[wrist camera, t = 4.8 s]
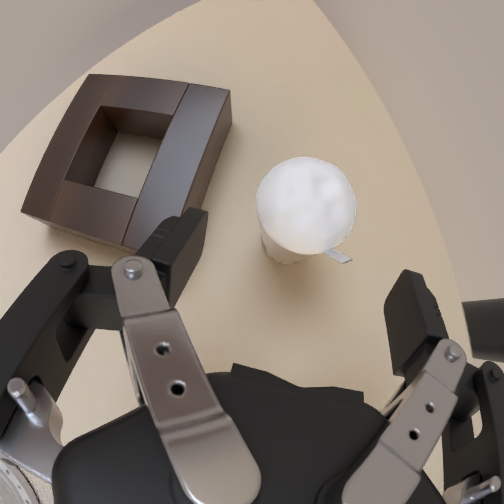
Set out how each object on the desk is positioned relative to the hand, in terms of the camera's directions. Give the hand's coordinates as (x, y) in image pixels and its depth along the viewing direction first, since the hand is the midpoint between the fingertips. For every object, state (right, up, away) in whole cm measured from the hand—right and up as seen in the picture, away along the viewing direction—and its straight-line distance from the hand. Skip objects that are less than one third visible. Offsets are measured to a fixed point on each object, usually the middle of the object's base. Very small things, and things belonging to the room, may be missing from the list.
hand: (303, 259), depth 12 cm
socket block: (-11, +6, +10) cm, 16 cm away
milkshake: (0, +1, +10) cm, 10 cm away
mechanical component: (-27, -23, +5) cm, 36 cm away
